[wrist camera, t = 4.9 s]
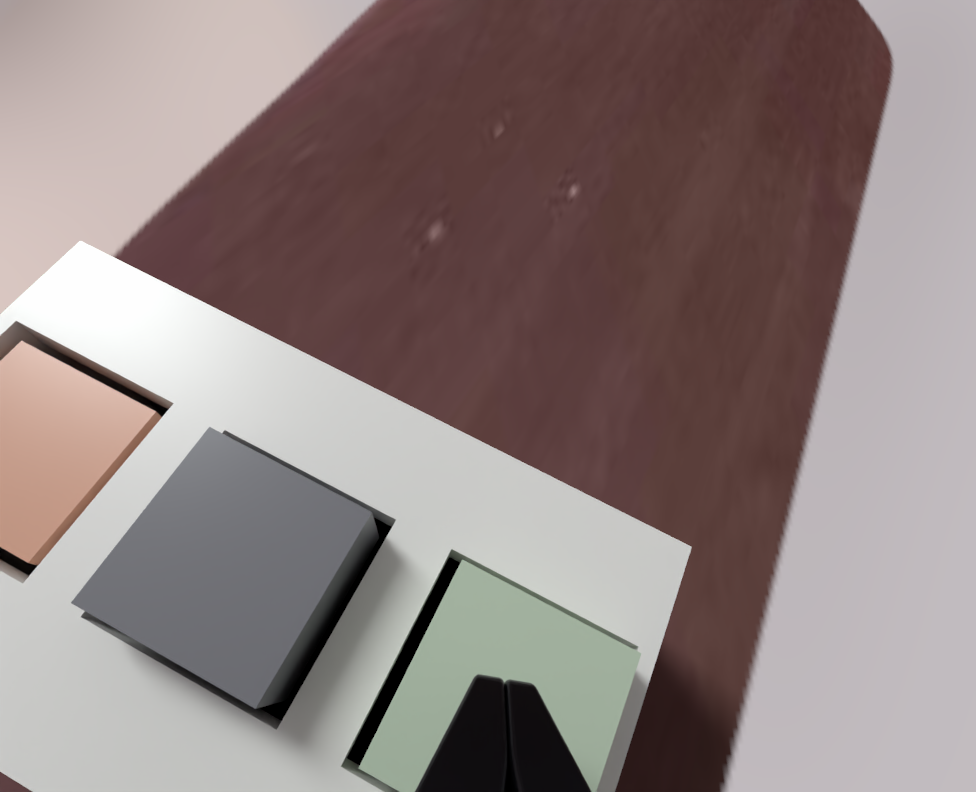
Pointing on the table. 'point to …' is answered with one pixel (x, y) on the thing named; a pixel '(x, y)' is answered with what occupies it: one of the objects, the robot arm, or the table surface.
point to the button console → (325, 460)
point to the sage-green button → (503, 676)
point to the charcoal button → (234, 569)
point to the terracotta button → (57, 446)
